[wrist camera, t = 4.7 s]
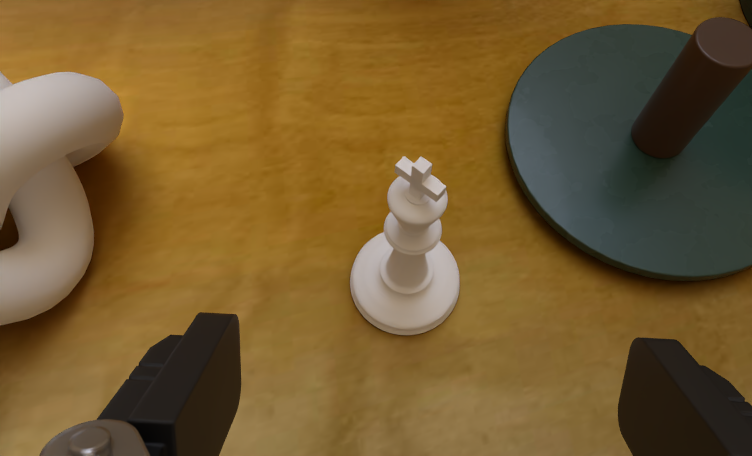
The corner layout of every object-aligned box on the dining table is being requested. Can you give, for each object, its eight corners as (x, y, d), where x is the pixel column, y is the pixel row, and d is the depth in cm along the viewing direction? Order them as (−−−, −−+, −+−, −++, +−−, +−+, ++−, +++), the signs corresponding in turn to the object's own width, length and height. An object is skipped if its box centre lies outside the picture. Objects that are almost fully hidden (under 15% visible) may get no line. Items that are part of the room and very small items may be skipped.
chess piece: (397, 213, 29) (409, 74, 20) (481, 276, 27) (535, 157, 18) (327, 287, 27) (306, 172, 18) (413, 358, 26) (436, 272, 17)
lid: (836, 122, 31) (968, 9, 24) (733, 349, 26) (865, 287, 19) (582, 1, 35) (635, -128, 28) (447, 179, 30) (471, 74, 23)
